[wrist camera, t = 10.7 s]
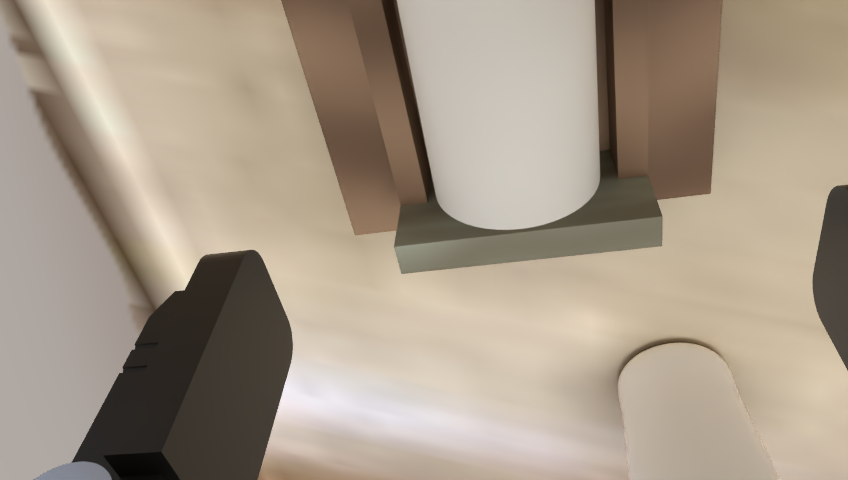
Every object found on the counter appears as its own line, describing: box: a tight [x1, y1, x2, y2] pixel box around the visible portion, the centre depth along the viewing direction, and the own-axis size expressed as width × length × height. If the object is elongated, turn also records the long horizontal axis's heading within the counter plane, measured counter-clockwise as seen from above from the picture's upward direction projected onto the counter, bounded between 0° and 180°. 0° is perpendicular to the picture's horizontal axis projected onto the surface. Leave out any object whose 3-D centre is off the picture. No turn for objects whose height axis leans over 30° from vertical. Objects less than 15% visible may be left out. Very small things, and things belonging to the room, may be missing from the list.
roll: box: [397, 0, 600, 230], centre depth 20 cm, size 13×6×6 cm, turn 10°
